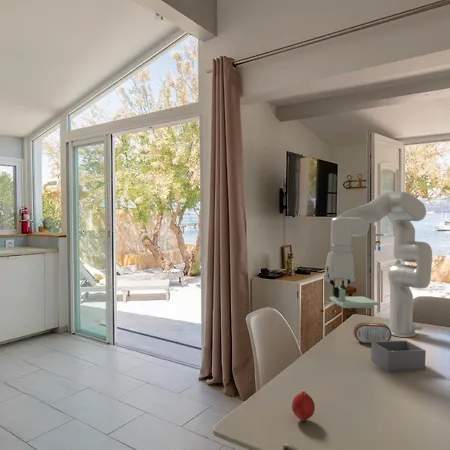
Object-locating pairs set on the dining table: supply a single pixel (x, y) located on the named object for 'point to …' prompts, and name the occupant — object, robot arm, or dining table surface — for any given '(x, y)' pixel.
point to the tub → (398, 356)
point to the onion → (303, 406)
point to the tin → (372, 332)
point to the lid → (352, 301)
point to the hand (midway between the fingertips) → (339, 296)
